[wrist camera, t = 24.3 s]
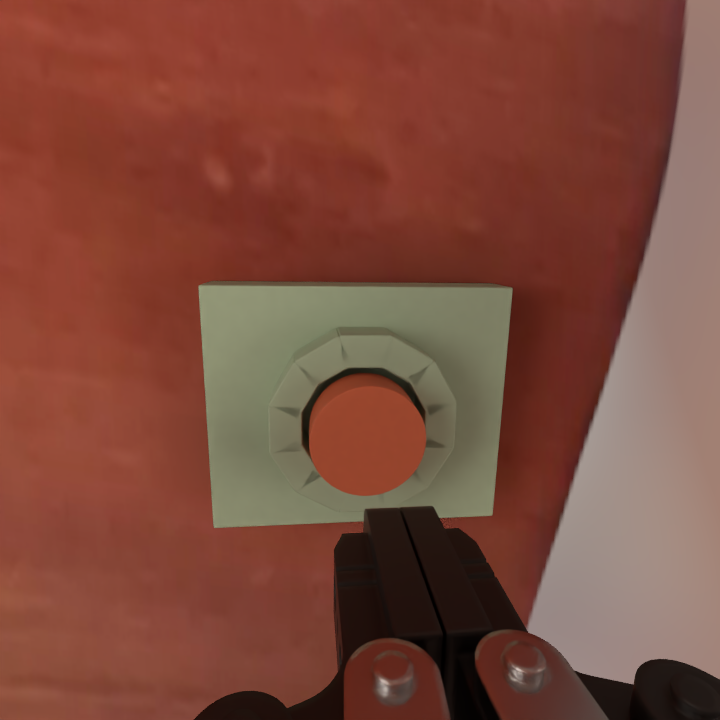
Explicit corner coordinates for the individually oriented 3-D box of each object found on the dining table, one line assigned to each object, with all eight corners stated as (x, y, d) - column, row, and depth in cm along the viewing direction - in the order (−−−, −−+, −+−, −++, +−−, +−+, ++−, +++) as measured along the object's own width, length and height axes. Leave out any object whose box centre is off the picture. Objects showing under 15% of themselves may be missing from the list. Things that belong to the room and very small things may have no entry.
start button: (417, 371, 17) (429, 385, 16) (413, 471, 18) (423, 494, 17) (308, 373, 17) (308, 386, 15) (309, 474, 18) (309, 498, 16)
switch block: (492, 283, 21) (534, 291, 17) (476, 491, 23) (509, 540, 19) (210, 280, 19) (185, 289, 15) (222, 501, 22) (203, 556, 18)
